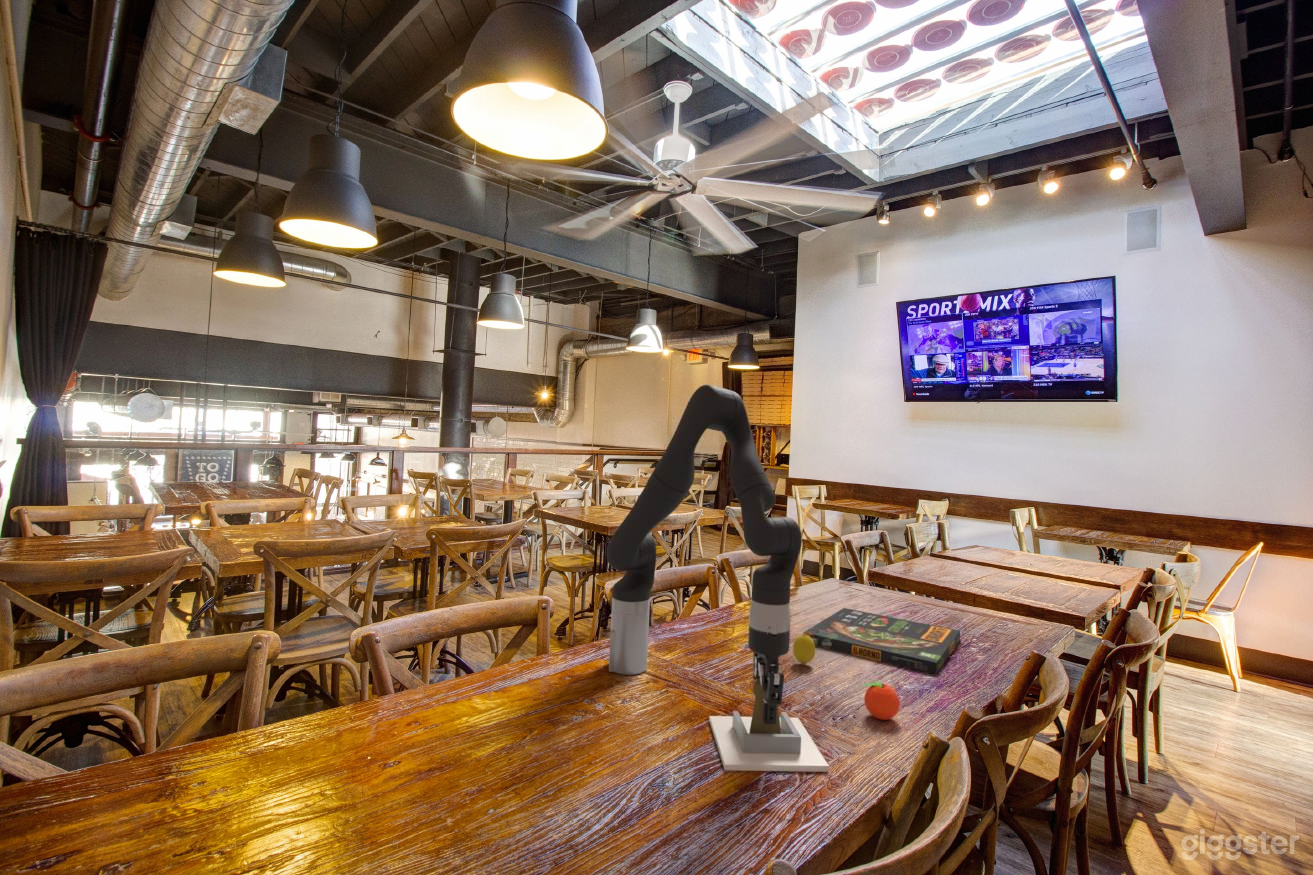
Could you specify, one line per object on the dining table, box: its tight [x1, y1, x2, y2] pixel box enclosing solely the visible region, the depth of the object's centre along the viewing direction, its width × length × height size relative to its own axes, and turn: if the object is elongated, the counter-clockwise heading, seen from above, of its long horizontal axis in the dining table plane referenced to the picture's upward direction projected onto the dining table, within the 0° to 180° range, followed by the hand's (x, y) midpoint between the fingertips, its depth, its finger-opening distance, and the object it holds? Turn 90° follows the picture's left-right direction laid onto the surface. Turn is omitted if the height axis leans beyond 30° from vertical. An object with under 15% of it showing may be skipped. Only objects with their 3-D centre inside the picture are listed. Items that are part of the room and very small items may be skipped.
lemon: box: [792, 632, 816, 666], centre depth 153 cm, size 6×6×8 cm
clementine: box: [859, 682, 901, 721], centre depth 125 cm, size 8×7×7 cm
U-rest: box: [708, 710, 830, 773], centre depth 111 cm, size 18×18×4 cm
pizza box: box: [803, 607, 961, 675], centre depth 175 cm, size 35×35×4 cm
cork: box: [749, 678, 781, 734], centre depth 111 cm, size 6×6×11 cm
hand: (765, 715), depth 111 cm, fingers open, 5 cm apart
